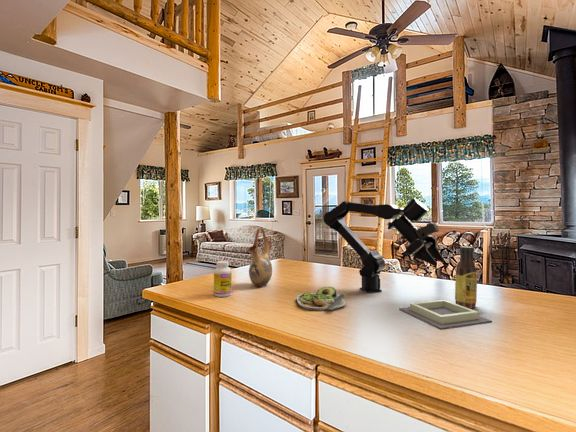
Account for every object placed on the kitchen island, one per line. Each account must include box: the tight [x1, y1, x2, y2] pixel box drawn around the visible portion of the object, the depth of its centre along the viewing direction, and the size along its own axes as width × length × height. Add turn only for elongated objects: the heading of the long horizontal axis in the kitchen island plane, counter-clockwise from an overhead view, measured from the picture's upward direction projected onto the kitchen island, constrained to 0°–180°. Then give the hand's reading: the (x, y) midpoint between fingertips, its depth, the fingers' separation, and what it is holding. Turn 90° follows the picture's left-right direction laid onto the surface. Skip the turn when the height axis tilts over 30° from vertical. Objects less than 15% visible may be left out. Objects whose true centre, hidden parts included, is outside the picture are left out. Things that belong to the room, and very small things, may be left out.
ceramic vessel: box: [247, 227, 273, 288], centre depth 137 cm, size 16×9×25 cm, turn 153°
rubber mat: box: [399, 306, 493, 330], centre depth 98 cm, size 18×18×1 cm
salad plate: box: [295, 286, 347, 311], centre depth 110 cm, size 19×18×5 cm
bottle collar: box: [409, 299, 480, 324], centre depth 98 cm, size 13×13×2 cm
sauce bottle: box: [454, 245, 478, 309], centre depth 106 cm, size 6×6×20 cm
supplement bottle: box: [213, 260, 233, 298], centre depth 123 cm, size 7×7×13 cm
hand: (439, 263), depth 111 cm, fingers open, 9 cm apart
